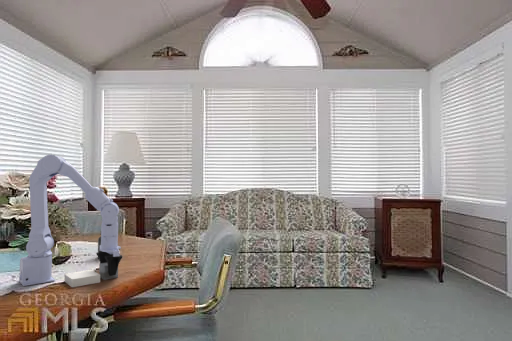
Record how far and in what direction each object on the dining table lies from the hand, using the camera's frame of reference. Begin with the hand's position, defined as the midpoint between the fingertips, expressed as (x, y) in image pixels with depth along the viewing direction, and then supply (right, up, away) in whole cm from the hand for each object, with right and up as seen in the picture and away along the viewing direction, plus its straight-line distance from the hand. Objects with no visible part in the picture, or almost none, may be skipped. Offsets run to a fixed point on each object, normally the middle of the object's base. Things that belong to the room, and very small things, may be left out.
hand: (108, 273), depth 129 cm
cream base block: (-7, -2, -6) cm, 9 cm away
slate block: (0, -2, 0) cm, 2 cm away
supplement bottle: (-15, -2, +32) cm, 36 cm away
